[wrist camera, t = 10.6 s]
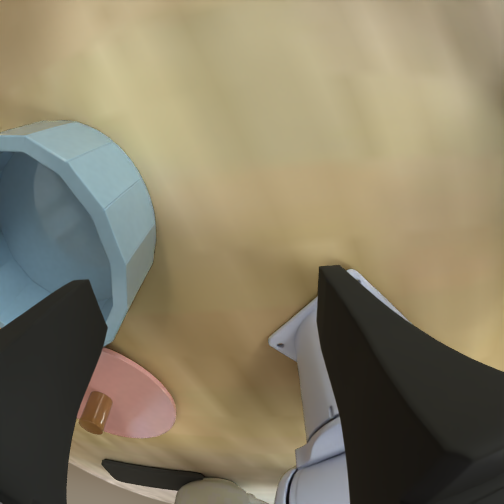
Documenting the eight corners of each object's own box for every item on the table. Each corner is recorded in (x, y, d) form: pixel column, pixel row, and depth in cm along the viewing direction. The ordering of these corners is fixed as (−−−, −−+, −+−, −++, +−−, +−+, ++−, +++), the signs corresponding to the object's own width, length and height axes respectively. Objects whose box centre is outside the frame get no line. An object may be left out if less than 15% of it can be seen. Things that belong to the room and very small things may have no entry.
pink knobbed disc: (180, 357, 24) (169, 403, 20) (176, 441, 30) (170, 475, 26) (25, 316, 23) (0, 350, 18) (59, 408, 29) (46, 438, 25)
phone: (208, 493, 37) (116, 480, 37) (209, 489, 38) (117, 476, 38) (201, 477, 34) (98, 461, 34) (202, 471, 34) (99, 457, 34)
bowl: (167, 127, 16) (131, 142, 11) (153, 323, 22) (133, 379, 17) (-9, 121, 15) (-63, 137, 10) (9, 285, 21) (-26, 324, 16)
